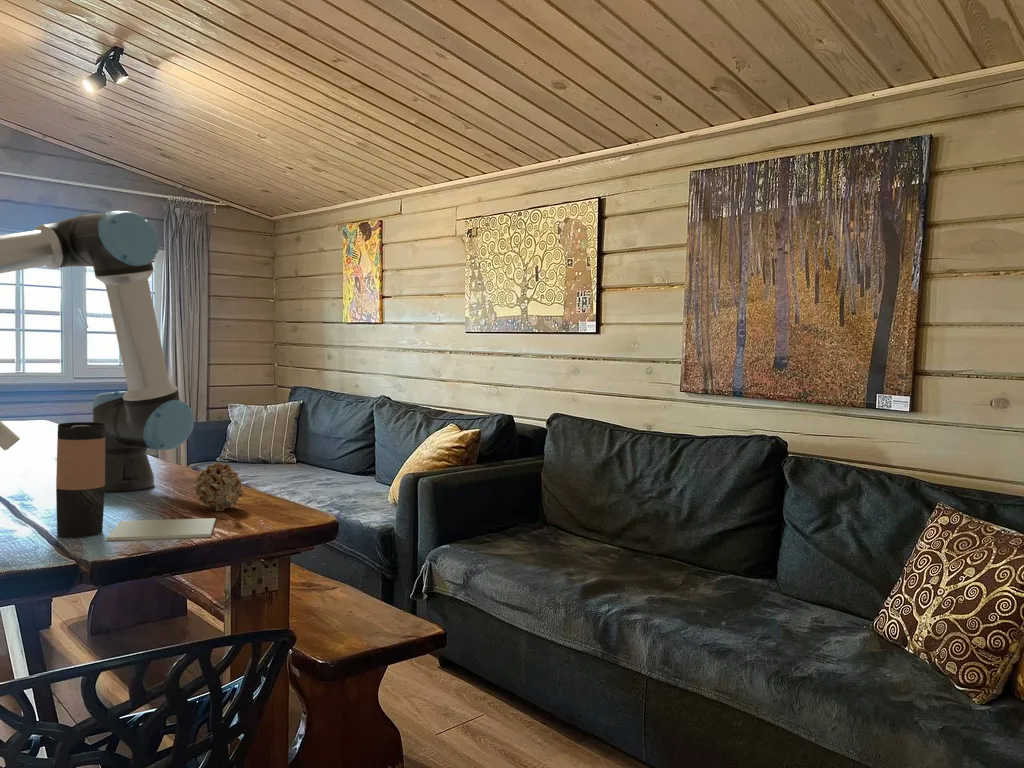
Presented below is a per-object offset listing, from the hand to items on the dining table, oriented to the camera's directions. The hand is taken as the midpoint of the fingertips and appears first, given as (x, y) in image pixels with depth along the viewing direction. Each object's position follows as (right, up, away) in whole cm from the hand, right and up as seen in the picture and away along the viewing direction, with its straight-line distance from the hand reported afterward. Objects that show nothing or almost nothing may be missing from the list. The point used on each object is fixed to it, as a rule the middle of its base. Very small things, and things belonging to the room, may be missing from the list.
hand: (12, 444), depth 129 cm
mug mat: (+23, -17, +9) cm, 30 cm away
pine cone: (+27, -17, +26) cm, 41 cm away
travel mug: (+9, -17, +4) cm, 20 cm away
